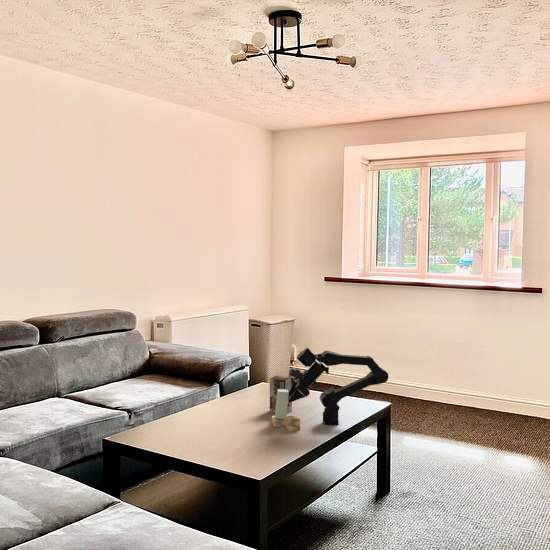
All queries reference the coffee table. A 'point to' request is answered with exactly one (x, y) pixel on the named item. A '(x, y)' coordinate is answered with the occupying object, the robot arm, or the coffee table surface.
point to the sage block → (281, 404)
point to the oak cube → (293, 422)
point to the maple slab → (278, 421)
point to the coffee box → (279, 383)
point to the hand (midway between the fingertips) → (288, 399)
